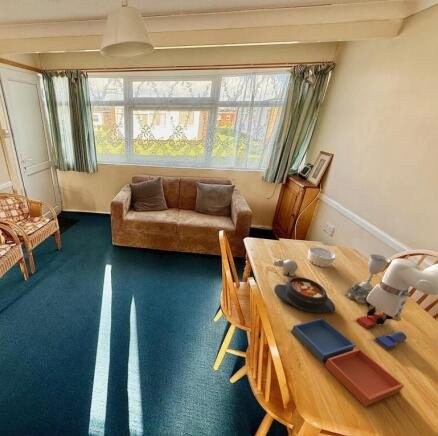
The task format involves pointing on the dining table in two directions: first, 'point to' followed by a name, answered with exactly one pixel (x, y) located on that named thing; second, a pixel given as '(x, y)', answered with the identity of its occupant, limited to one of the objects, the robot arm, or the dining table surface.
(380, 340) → the blue spoon
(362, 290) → the grey rock
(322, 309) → the casserole
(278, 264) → the chubby cartoon animal
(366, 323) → the red spoon
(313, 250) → the ramekin
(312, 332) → the blue bin
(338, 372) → the red bin
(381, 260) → the chalice
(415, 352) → the dining table surface
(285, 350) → the dining table surface
